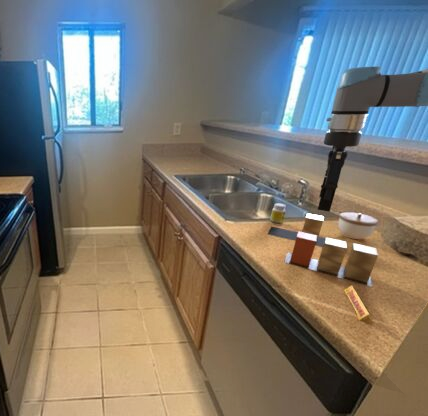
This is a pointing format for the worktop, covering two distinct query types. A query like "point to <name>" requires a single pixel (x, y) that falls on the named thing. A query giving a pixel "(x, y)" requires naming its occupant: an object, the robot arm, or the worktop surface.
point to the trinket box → (356, 225)
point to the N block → (360, 262)
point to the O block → (313, 224)
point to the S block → (303, 248)
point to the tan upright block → (332, 255)
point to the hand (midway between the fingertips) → (324, 203)
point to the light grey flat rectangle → (314, 265)
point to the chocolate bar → (358, 305)
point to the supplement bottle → (278, 214)
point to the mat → (291, 235)
